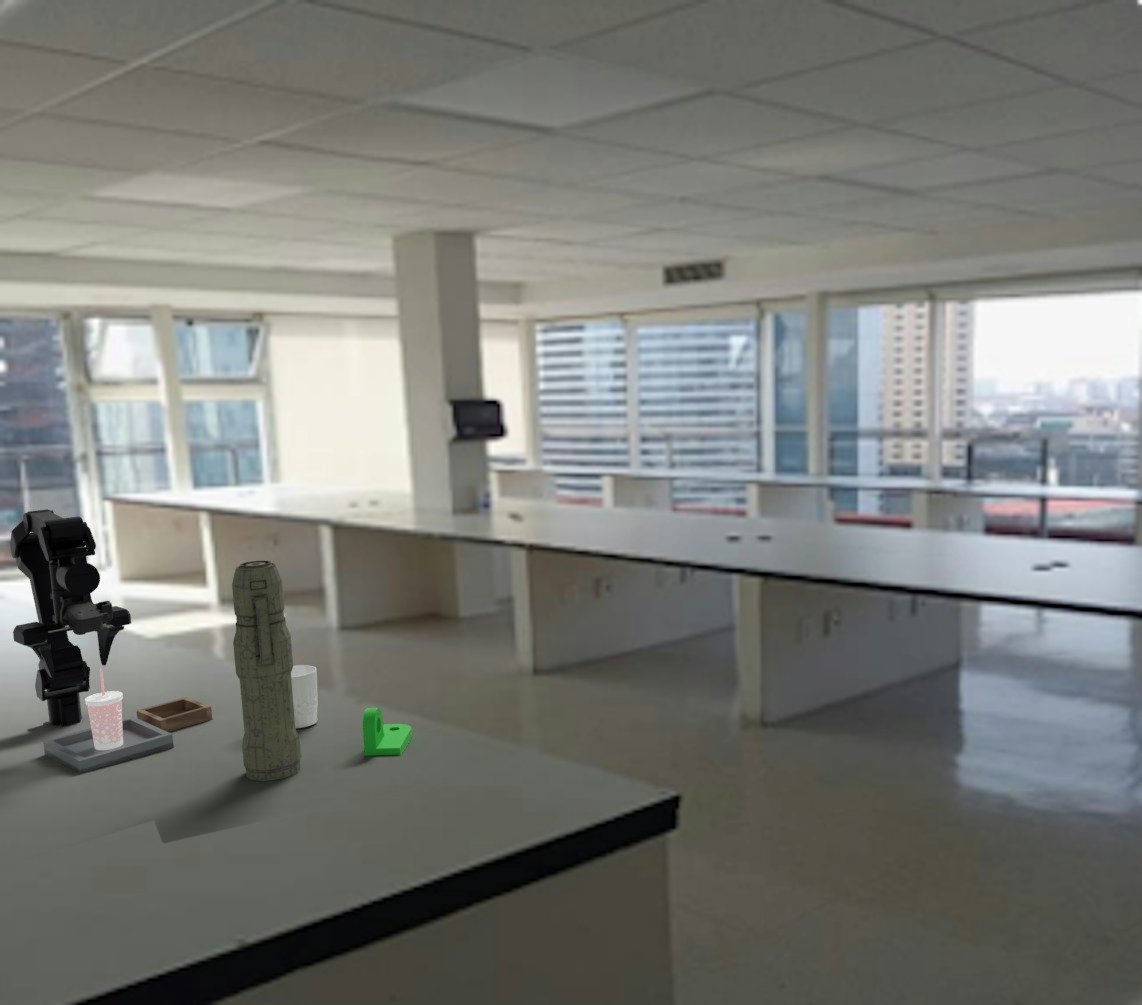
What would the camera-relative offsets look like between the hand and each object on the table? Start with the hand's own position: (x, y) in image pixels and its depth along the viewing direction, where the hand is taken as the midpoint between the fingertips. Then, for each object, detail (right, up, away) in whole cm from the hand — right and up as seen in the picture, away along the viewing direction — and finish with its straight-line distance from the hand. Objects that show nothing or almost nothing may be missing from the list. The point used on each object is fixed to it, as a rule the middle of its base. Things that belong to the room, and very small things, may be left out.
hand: (78, 671), depth 189 cm
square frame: (+14, -11, +9) cm, 20 cm away
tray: (+8, -13, -6) cm, 16 cm away
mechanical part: (+59, -12, -10) cm, 60 cm away
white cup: (+39, -11, +5) cm, 41 cm away
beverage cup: (+8, -12, -6) cm, 16 cm away
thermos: (+42, -14, -21) cm, 49 cm away
